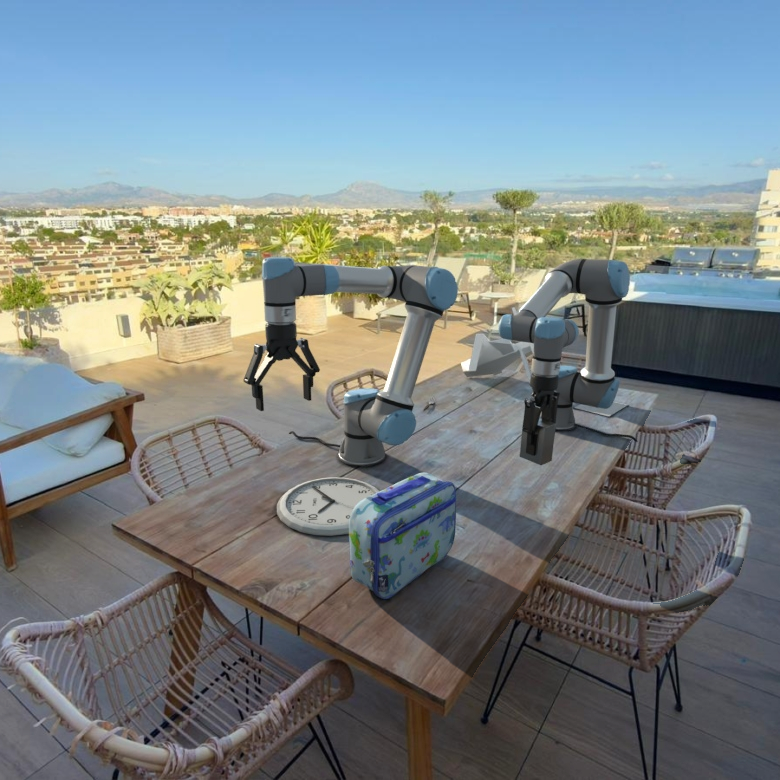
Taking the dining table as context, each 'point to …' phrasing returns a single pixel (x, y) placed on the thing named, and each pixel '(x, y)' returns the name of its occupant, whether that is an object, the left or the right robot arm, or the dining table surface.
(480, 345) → the white plastic object
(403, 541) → the lunch box
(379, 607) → the dining table surface
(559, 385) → the right robot arm
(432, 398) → the fork
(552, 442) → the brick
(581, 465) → the dining table surface
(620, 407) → the invitation card
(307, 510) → the wall clock
